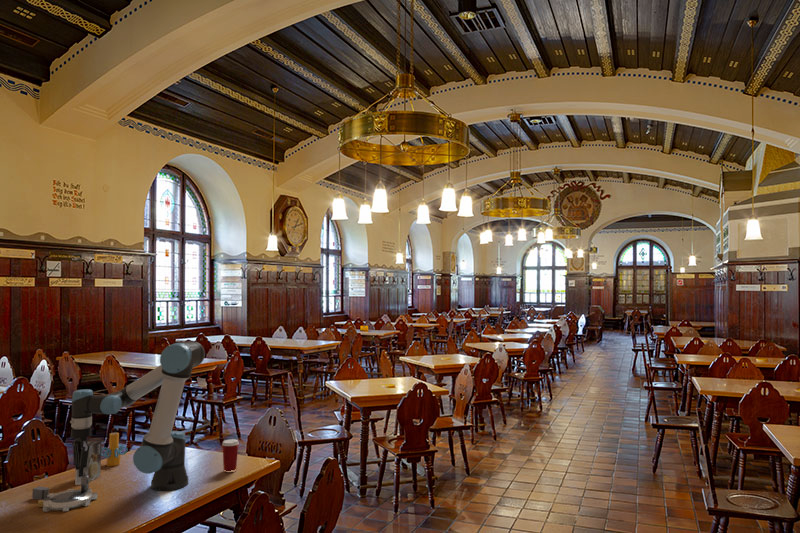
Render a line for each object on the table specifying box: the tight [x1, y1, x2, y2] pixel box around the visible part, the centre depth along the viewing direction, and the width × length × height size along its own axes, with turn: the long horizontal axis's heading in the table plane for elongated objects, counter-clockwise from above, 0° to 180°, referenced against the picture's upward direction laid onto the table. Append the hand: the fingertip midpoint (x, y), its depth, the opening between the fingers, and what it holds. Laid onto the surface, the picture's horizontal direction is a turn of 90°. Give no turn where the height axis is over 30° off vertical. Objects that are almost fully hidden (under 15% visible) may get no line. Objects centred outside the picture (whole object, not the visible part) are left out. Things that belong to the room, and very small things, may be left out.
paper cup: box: [221, 438, 240, 471], centre depth 259 cm, size 8×8×14 cm
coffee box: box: [74, 440, 102, 483], centre depth 246 cm, size 9×6×16 cm
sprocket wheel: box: [37, 475, 98, 513], centre depth 218 cm, size 20×20×8 cm
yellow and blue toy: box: [101, 432, 129, 467], centre depth 267 cm, size 12×10×15 cm
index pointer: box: [31, 485, 50, 501], centre depth 223 cm, size 7×3×4 cm, turn 72°
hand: (79, 483), depth 229 cm, fingers closed
